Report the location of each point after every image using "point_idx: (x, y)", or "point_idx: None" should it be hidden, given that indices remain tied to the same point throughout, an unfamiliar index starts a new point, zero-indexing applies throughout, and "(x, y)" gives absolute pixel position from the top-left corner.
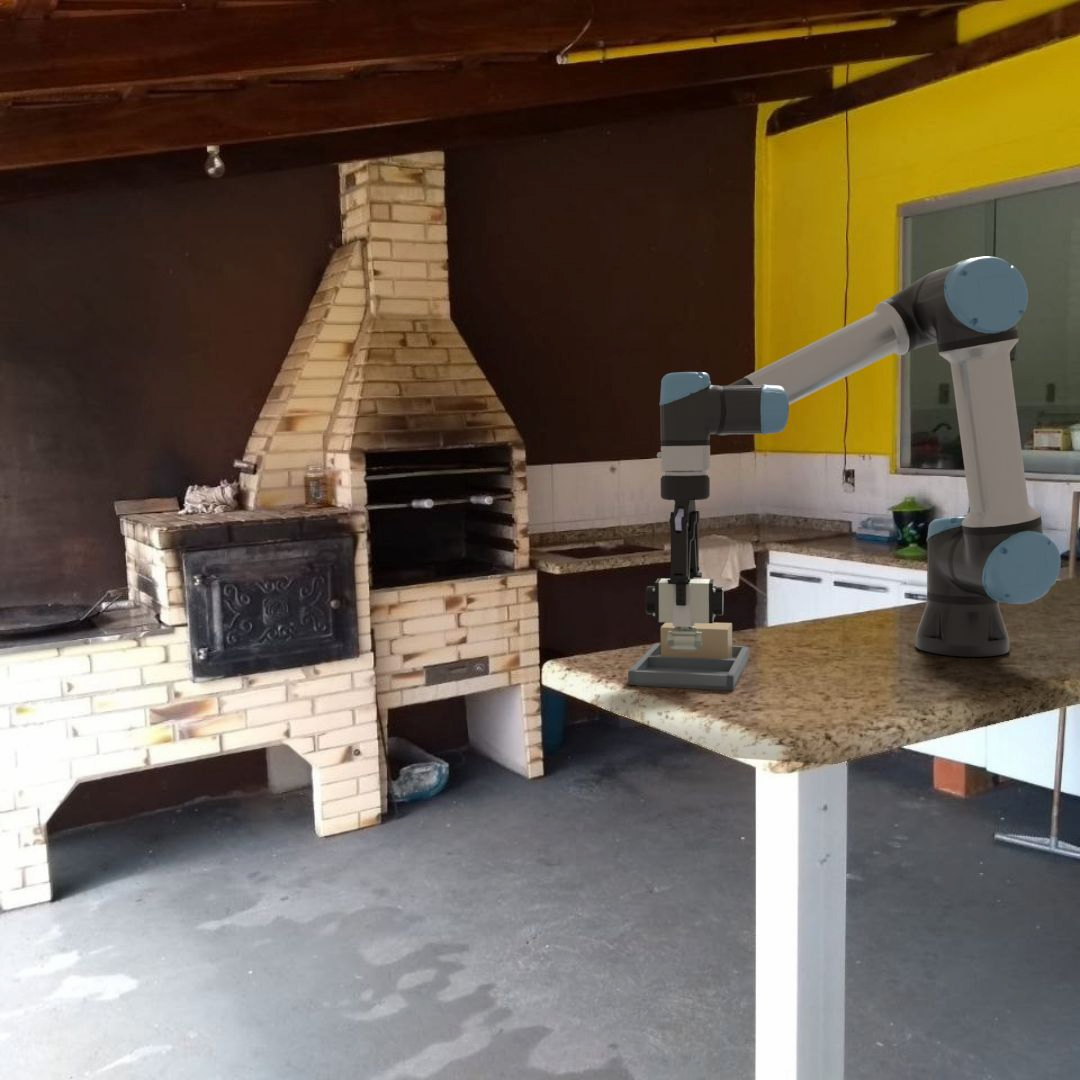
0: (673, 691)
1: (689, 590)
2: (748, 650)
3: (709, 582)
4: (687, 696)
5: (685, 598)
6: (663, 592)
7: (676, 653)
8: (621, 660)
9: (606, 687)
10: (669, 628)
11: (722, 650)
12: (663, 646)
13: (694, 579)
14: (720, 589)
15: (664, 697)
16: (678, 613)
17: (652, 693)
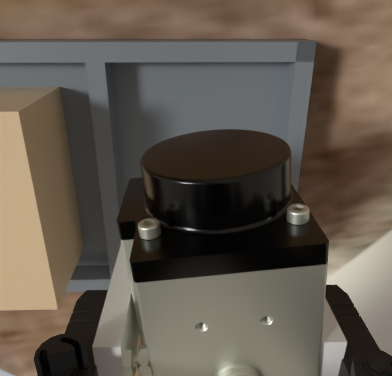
0: (320, 177)
1: (333, 321)
2: None
3: (287, 266)
4: (365, 141)
5: (335, 306)
6: None
7: (72, 228)
8: (51, 322)
9: None
10: (53, 286)
11: (47, 112)
12: (71, 267)
13: (174, 352)
14: (258, 185)
15: (375, 185)
16: None
17: (341, 214)
